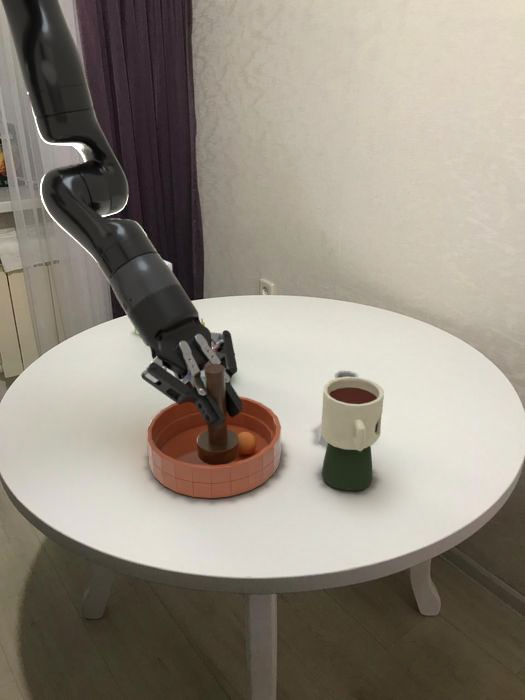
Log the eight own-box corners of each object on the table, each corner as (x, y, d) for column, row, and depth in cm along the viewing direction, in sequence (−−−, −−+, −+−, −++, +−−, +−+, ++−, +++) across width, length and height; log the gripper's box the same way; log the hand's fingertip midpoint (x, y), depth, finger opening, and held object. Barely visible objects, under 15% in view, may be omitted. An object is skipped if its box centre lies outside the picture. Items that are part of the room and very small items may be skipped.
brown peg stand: (199, 467, 71) (193, 380, 66) (196, 442, 76) (191, 360, 71) (241, 463, 72) (239, 377, 67) (236, 439, 77) (233, 356, 72)
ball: (235, 460, 77) (234, 441, 76) (232, 447, 80) (232, 428, 79) (258, 458, 78) (258, 439, 76) (254, 445, 80) (254, 426, 79)
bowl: (149, 509, 70) (145, 474, 67) (150, 429, 85) (147, 399, 83) (291, 493, 72) (292, 460, 70) (268, 419, 87) (268, 389, 85)
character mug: (385, 507, 70) (396, 413, 64) (325, 510, 69) (331, 416, 64) (364, 453, 80) (372, 367, 74) (312, 455, 79) (316, 369, 74)
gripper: (118, 300, 65) (201, 433, 63) (208, 269, 74) (283, 384, 72) (95, 331, 70) (171, 455, 68) (182, 299, 80) (251, 407, 78)
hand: (228, 418), depth 70 cm, fingers closed on brown peg stand, 2 cm apart
